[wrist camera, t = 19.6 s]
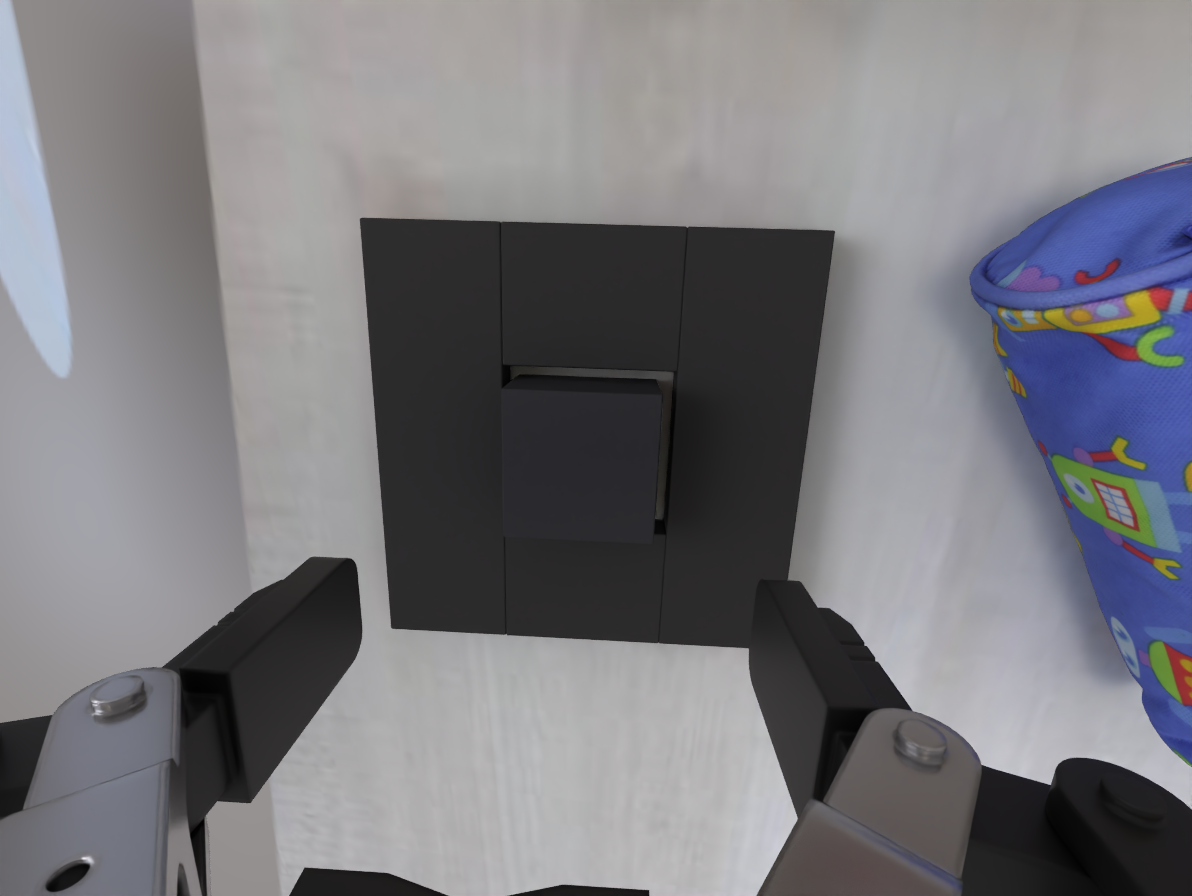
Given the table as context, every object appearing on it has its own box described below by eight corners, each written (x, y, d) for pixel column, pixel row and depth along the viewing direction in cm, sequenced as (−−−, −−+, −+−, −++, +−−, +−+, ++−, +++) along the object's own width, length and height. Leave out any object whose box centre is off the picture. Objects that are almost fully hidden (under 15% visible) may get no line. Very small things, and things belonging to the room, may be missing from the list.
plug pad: (519, 502, 24) (502, 537, 21) (519, 373, 22) (500, 388, 19) (649, 508, 24) (653, 544, 20) (656, 379, 22) (663, 394, 19)
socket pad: (404, 610, 26) (390, 629, 24) (376, 222, 21) (358, 217, 20) (769, 629, 25) (778, 650, 24) (820, 234, 21) (835, 230, 19)
